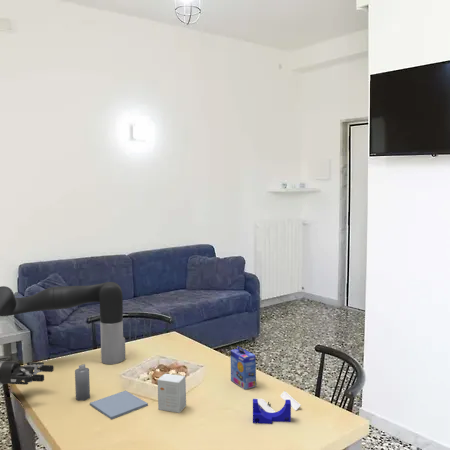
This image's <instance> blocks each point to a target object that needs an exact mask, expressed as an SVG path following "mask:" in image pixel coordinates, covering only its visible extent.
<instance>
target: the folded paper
mask: <svg viewBox="0 0 450 450" xmlns="http://www.w3.org/2000/svg"><path fill="white" fill-rule="evenodd" d="M279 397H280V398H282V400H283V401H285V400H290V401H291V409H293V410H294V411H297V410H298V409H299V408H300V407H301V406H302V404H300V402H299V401H297V400H296V399H295V398H293V396H291V395H290V394H289V393H288V392H287V391H285V390H284V391H283V392H282V393H281V394H280V395H279ZM253 399H256V398H252V400H253ZM257 399H258V404H259V406H260V407H261V409H263V410H264V411H266V412H269V413H275V412H276V411H275V409H273V408H272V407H271V405H272V404H271V403H270V401H268V402H267V401H266V400H265V399H264V398H257Z"/></svg>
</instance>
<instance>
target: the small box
mask: <svg viewBox="0 0 450 450" xmlns="http://www.w3.org/2000/svg"><path fill="white" fill-rule="evenodd" d="M186 383H187V382H186V375H179V374H169V373H164V374H163V375H161V376H160V377H159V378H158V379H157V405H158V407H157V408H158V410H159V411H165V412H173V413H178V414H180V413H181V412H182V411H183V410H184V409H185V407H186V406H187V386H186V385H187V384H186Z"/></svg>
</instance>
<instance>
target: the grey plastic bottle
mask: <svg viewBox="0 0 450 450" xmlns="http://www.w3.org/2000/svg"><path fill="white" fill-rule="evenodd" d="M74 381H75V382H74V384H75V400H76V401H86V400H89V399H90V397H91V392H90V391H91V387H90V369H89V367H86V364H85V363H83V364H79V365H78V367H77V368H76V369H75V370H74Z"/></svg>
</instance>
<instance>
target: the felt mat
mask: <svg viewBox="0 0 450 450" xmlns="http://www.w3.org/2000/svg"><path fill="white" fill-rule="evenodd" d="M89 406H91V407H92V408H93V409H95V410H97V411H98V412H100V414H103V415H104V416H105V417H106V418H109V419H110V420H115V419H117V418H118V417H119V418H120V417H122V416H124V415H127V414H129V413H132V412H134V411H137V410H139V409H143V408H145V407H148V406H149V403H148V402H146V401H145V400H143V399H141V398H139V397H138V396H136V395H134V394H132V393H131V392H129V391H127V390H122V391H121V392H120V391H119V392H117V393H115V394H111V395H108V396H105V397H103V398H99V399H97V400H94V401H91V402H90V403H89Z"/></svg>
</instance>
